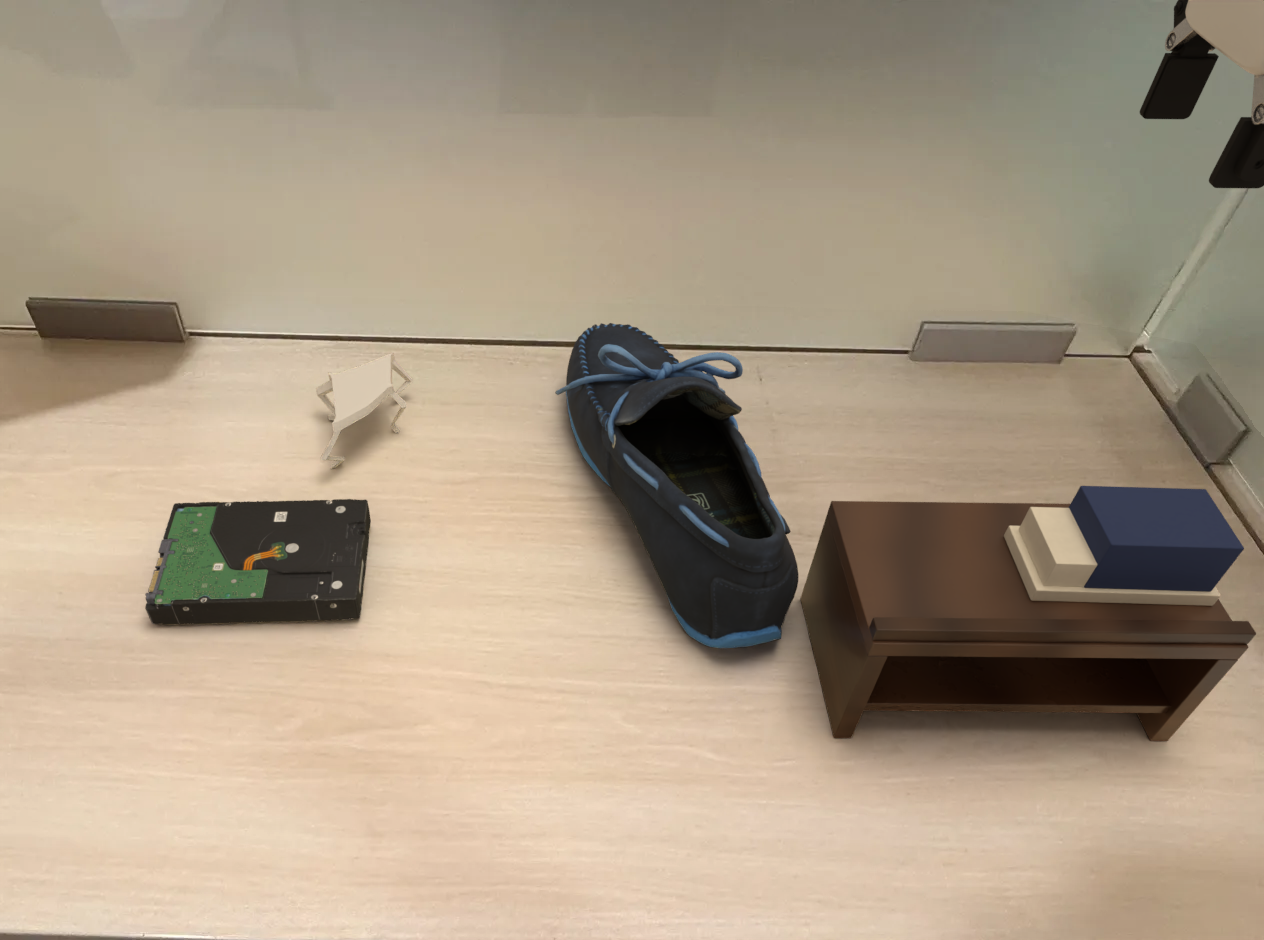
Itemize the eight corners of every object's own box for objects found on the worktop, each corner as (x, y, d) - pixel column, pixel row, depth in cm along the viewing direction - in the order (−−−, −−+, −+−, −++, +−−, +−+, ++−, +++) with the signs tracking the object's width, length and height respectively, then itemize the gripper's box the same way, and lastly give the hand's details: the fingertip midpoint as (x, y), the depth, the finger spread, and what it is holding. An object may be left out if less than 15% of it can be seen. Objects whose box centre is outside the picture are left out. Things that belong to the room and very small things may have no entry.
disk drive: (371, 522, 77) (180, 526, 76) (368, 496, 75) (171, 500, 74) (362, 624, 70) (150, 630, 69) (358, 598, 68) (140, 604, 67)
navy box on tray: (1174, 540, 63) (1212, 485, 59) (1213, 606, 59) (1256, 551, 55) (1003, 535, 63) (1030, 480, 59) (1030, 601, 59) (1062, 546, 56)
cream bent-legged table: (327, 390, 88) (319, 344, 85) (419, 396, 88) (415, 350, 84) (293, 479, 80) (283, 433, 77) (394, 486, 80) (388, 440, 76)
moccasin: (666, 359, 93) (681, 245, 84) (875, 626, 70) (923, 508, 62) (529, 388, 89) (529, 273, 81) (702, 680, 67) (729, 563, 58)
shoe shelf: (1096, 601, 72) (1166, 493, 64) (1168, 741, 64) (1259, 636, 56) (800, 598, 72) (834, 489, 64) (833, 738, 64) (877, 633, 56)
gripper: (1558, -141, 43) (1332, 217, 56) (1339, -213, 55) (1193, 95, 68) (1391, -143, 43) (1201, 216, 56) (1208, -214, 55) (1085, 94, 68)
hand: (1196, 149), depth 62 cm, fingers open, 9 cm apart
